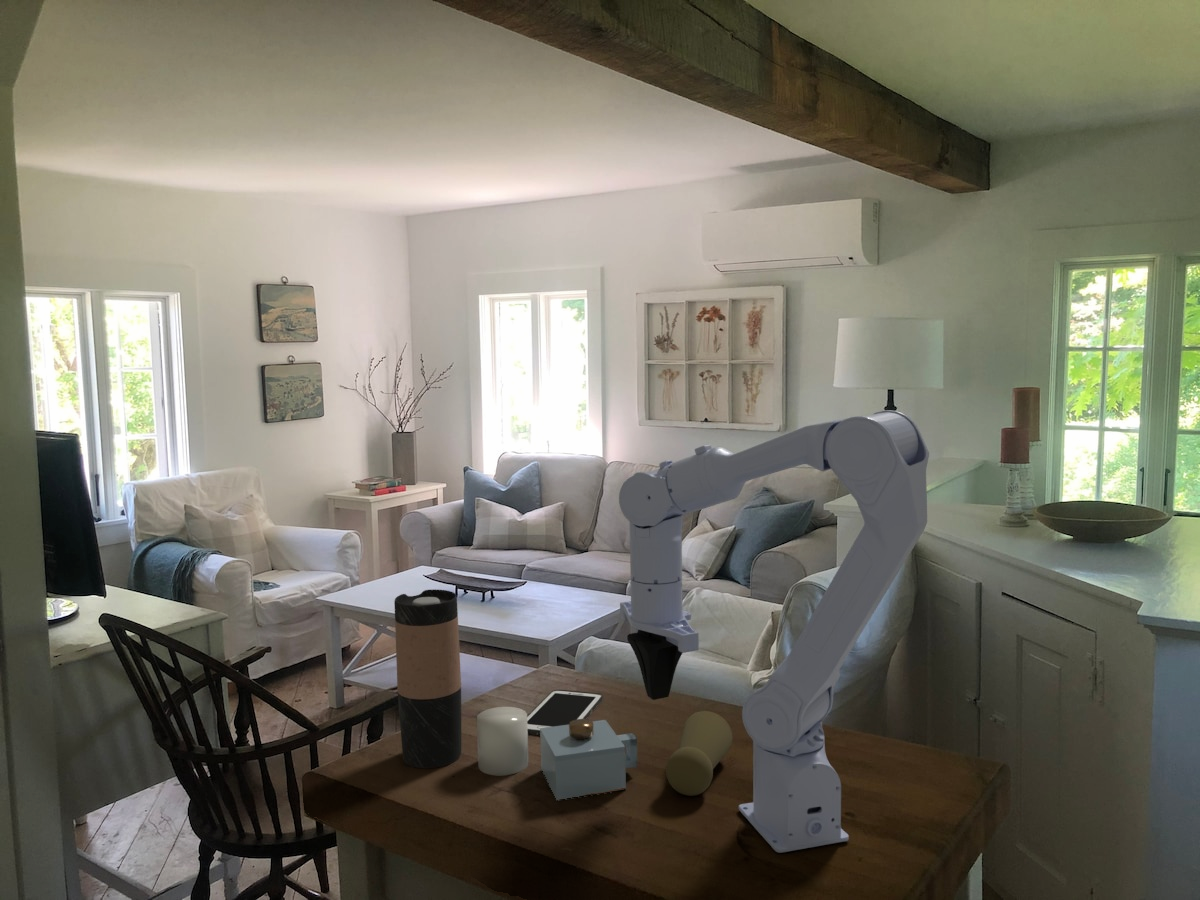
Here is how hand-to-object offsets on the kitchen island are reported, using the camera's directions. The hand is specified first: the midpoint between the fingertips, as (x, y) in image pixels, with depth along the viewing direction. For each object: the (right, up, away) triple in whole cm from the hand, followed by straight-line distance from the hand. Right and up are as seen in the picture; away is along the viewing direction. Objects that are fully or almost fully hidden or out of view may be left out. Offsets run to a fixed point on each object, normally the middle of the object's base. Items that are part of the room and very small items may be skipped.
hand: (658, 696), depth 104 cm
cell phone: (-12, -9, +22) cm, 27 cm away
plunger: (-9, -9, +3) cm, 13 cm away
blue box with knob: (-7, -10, +3) cm, 13 cm away
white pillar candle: (-18, -10, +7) cm, 22 cm away
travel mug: (-27, -10, +10) cm, 31 cm away
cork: (+6, -7, +8) cm, 12 cm away
